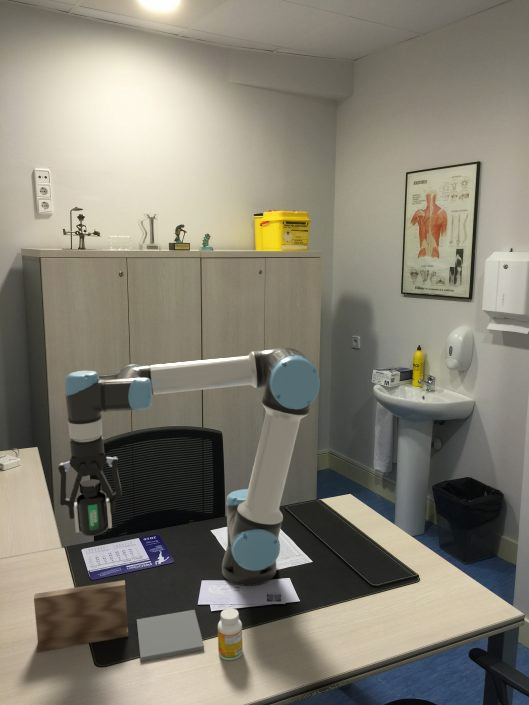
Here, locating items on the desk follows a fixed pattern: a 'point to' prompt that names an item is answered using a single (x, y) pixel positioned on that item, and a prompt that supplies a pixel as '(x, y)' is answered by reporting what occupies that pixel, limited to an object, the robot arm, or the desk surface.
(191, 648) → the slate mat
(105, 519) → the supplement bottle
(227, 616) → the supplement bottle
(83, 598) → the walnut screen
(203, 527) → the desk surface
